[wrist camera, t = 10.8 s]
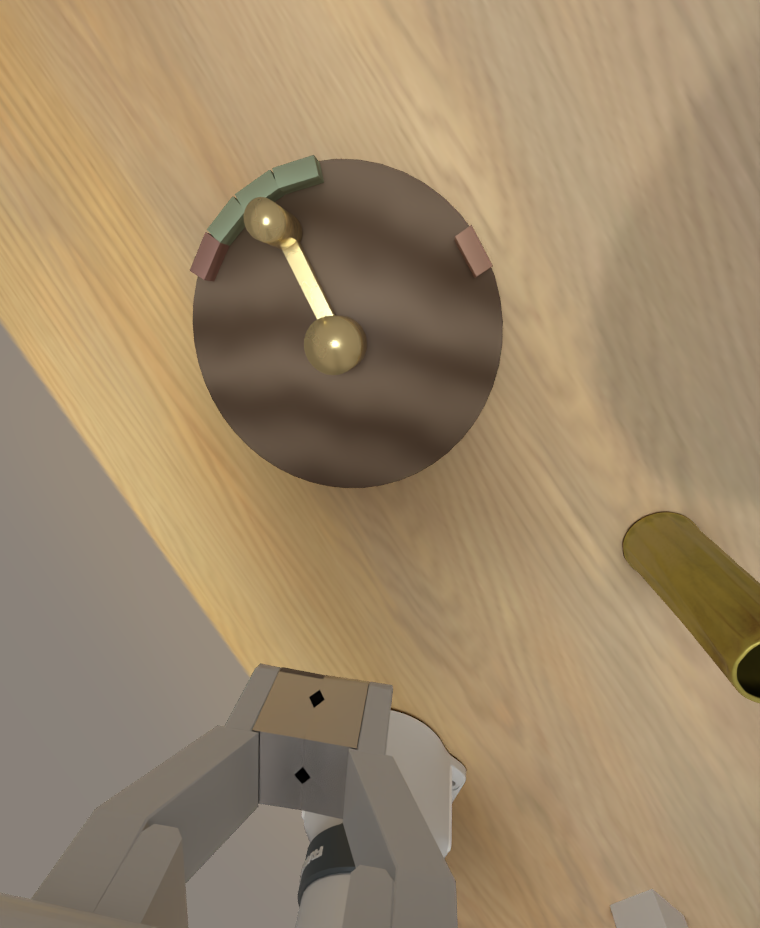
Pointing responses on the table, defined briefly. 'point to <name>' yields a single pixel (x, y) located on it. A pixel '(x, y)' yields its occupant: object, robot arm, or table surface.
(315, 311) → the brass dumbbell
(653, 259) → the table surface
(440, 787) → the robot arm
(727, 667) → the vase
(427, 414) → the dial base
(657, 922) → the light grey cube
